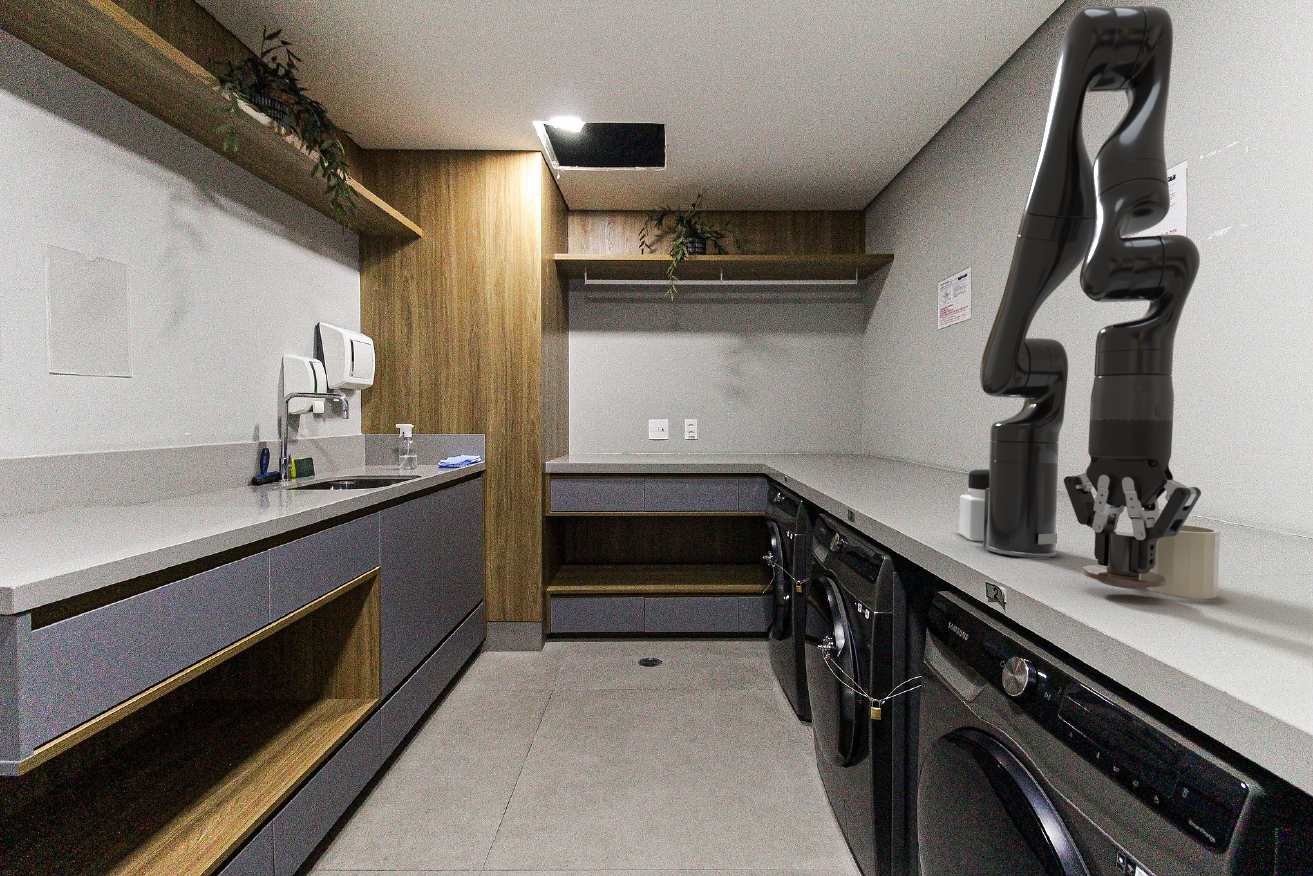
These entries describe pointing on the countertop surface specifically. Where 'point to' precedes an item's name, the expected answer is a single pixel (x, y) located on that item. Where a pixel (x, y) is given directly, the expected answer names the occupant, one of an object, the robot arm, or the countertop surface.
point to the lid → (1122, 566)
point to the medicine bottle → (974, 506)
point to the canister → (1188, 563)
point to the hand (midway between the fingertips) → (1123, 568)
